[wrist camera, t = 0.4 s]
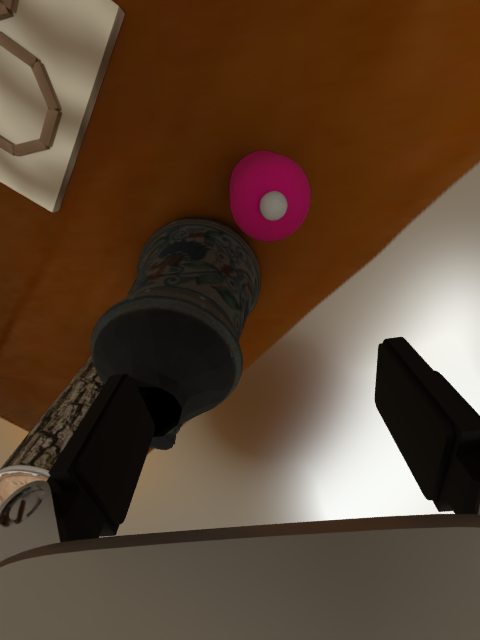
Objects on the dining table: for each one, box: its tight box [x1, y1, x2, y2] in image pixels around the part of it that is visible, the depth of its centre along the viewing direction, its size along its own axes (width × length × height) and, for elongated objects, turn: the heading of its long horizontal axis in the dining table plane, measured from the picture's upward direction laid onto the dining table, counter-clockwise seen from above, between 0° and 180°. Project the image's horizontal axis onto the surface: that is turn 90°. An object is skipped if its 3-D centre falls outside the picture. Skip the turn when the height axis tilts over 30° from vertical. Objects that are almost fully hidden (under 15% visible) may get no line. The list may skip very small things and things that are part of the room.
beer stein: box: [90, 218, 261, 450], centre depth 31 cm, size 16×19×25 cm
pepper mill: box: [229, 150, 311, 242], centre depth 26 cm, size 7×7×20 cm
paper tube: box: [0, 357, 104, 503], centre depth 35 cm, size 7×7×25 cm
